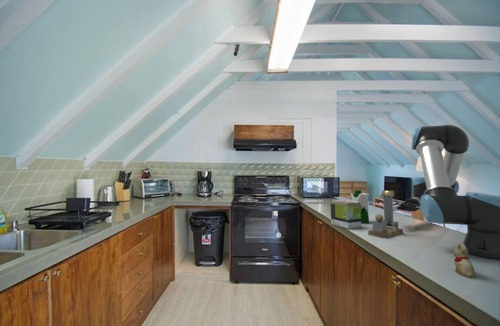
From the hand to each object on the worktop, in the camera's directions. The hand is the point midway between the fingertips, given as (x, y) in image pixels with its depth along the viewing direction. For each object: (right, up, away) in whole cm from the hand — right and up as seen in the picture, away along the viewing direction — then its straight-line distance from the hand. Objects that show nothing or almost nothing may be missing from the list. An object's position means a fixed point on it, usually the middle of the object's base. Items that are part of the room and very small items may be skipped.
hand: (393, 208), depth 140 cm
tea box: (-20, -13, +14) cm, 28 cm away
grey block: (-11, -10, -9) cm, 18 cm away
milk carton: (-7, -13, +23) cm, 28 cm away
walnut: (-12, -5, -9) cm, 15 cm away
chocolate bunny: (-8, -11, -56) cm, 58 cm away
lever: (-4, -8, -4) cm, 10 cm away
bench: (-7, -12, -6) cm, 15 cm away
